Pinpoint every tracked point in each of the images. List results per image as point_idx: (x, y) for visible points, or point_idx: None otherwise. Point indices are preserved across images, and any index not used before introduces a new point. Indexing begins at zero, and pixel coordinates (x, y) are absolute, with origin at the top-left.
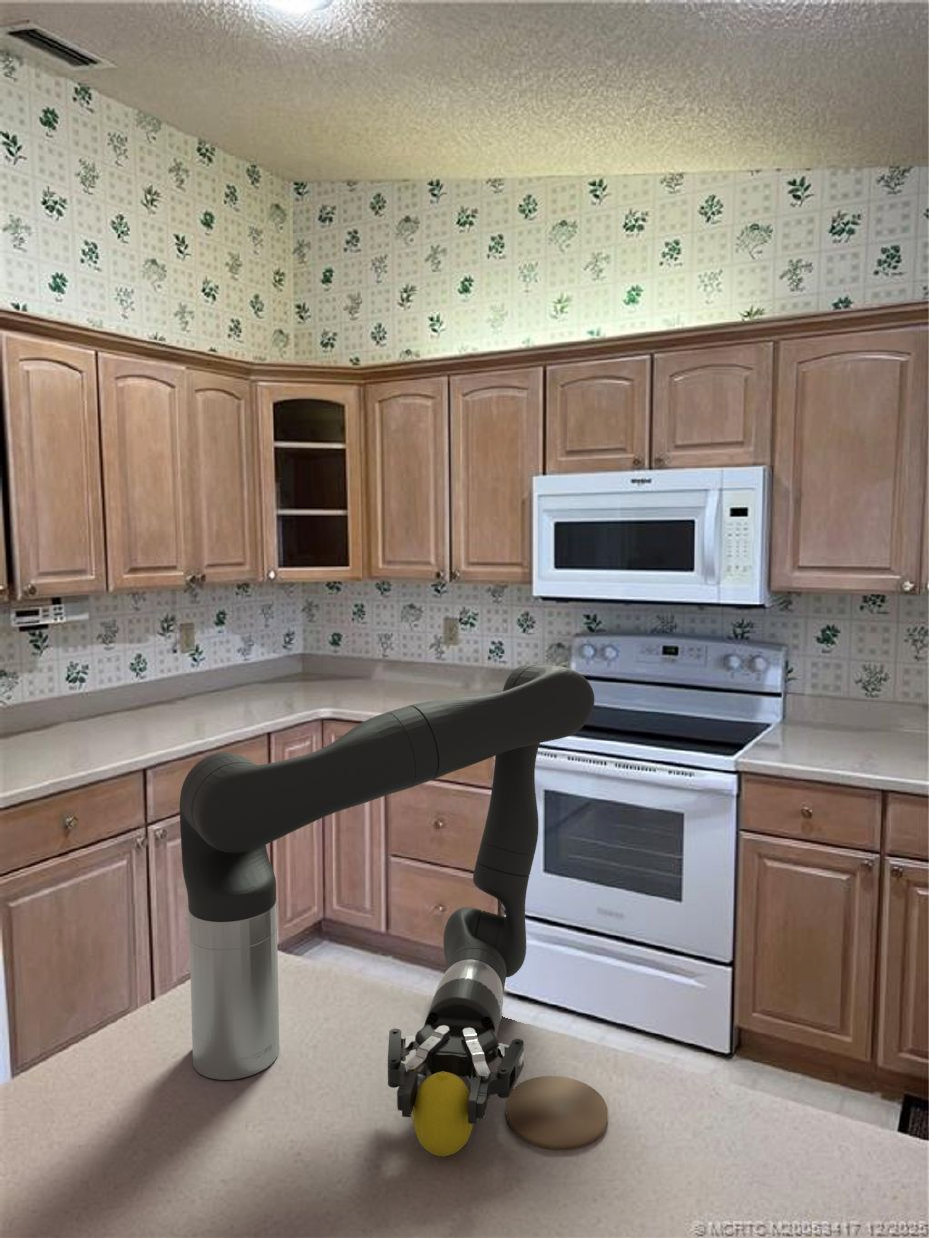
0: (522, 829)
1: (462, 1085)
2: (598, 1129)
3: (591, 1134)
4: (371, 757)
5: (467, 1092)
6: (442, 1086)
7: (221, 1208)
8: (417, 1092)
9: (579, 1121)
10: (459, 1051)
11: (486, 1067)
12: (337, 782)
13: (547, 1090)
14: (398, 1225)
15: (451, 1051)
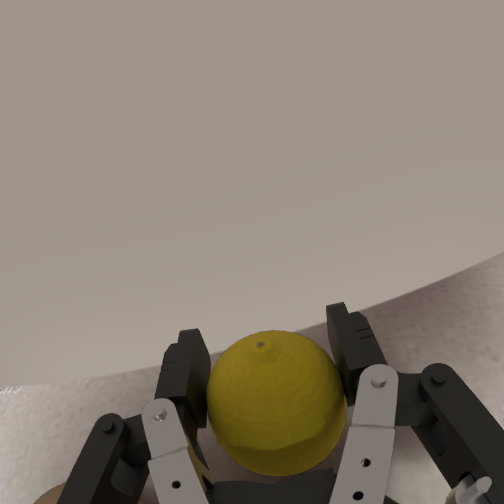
0: None
1: (216, 376)
2: (38, 500)
3: (49, 491)
4: None
5: (208, 385)
6: (258, 335)
7: (486, 279)
8: (333, 363)
9: None
10: (244, 499)
11: (150, 432)
12: None
13: None
14: (308, 330)
15: (275, 493)
